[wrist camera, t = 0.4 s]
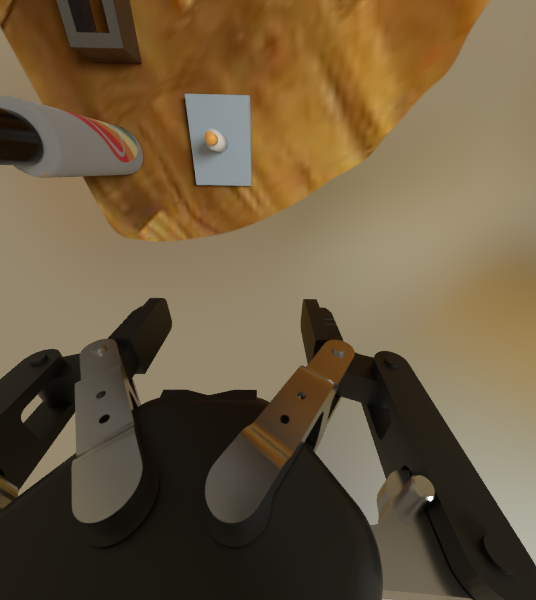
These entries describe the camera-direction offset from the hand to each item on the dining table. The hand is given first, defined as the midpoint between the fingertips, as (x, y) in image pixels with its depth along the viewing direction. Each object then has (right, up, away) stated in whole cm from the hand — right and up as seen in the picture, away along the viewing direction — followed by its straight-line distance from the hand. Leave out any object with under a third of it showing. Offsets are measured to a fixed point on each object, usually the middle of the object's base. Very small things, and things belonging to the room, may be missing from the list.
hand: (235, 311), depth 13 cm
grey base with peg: (-4, +23, +18) cm, 29 cm away
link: (-16, +33, +12) cm, 39 cm away
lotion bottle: (-19, +22, +19) cm, 34 cm away
